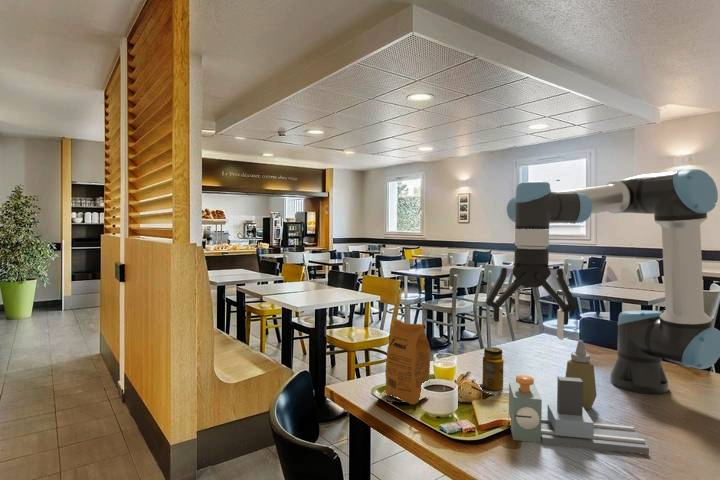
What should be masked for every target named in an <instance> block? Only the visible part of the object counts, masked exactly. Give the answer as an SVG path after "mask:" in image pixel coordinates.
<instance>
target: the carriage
mask: <svg viewBox="0 0 720 480" xmlns="http://www.w3.org/2000/svg"><path fill="white" fill-rule="evenodd" d="M556 385H557V388H556V389H557V391H556V392H557V393H556V396H557V398H556V403H547V411H546V412H547V414H546V415H547V416H546V418H548V419H549V420H550V422H551V424H552V427H553V429H554V431H555V435H559V436H569V437H579V438H589V439H594V422H595V421H593V420H592V418H591V416H590V415H589V414H588V412H587V411H586V410H585V409H584V408H583V381H582V380H581V379H580V378H569V377H565V376H557V384H556Z"/></svg>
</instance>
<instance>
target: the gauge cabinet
mask: <svg viewBox="0 0 720 480" xmlns="http://www.w3.org/2000/svg"><path fill="white" fill-rule="evenodd" d="M508 388H509V389H508V415H509V414H510V418H511V428H510V430H511V431H510V432H511V435H512V439H513V441H521V442H530V443H532V442H533V443H538V444H539V443H541V444H542V442H541V417H542V415H543V414H542V413H543V412H542V403H543V400H542V397H541V395H540V393H539V391H538V388H537V387H536V384H535V383H534V384H533V385H530V393H527V392H520V384H519V383H517V382H516V381H515V382H513V381H509V383H508Z"/></svg>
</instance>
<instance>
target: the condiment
mask: <svg viewBox="0 0 720 480" xmlns="http://www.w3.org/2000/svg"><path fill="white" fill-rule="evenodd" d="M483 350H484V351H483V352H484V353H483V357H482V383H481V384H478V385H480V387H481V388H482V390H483V391H484V392H483V393H485V392H488V393H491V394H492V395H494V394H498V393H502V392H505V391H509V387H505V386H504V358H503V350H502V349H501V348H499V347H494V346H488V347H485V348H484V349H483Z"/></svg>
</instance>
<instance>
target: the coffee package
mask: <svg viewBox="0 0 720 480" xmlns="http://www.w3.org/2000/svg"><path fill="white" fill-rule="evenodd" d="M392 325H393V326H392V328H391V332H390V337H389V340H388V345H387V349H386V351H387V352H386V361H385V395H386V394H387V395H393V396H395V397H398V398H400V399H403V400H405V401H406V402H407V403H409V405H411V406H413V405H416V404H418V403H420V402H419V398H420V392H421V385H422V383H424V382H425V381H428V380H429V381H430V374H431V371H430V370H431V369H430V368H431V347H430V343H429V341H428V338H427V334H426V332H425V330H426V328H427V327H426V325H425V324H424V323H405V322H404V321H402V320H400V319H398V318H394V321H393V324H392ZM407 403H406V404H407Z"/></svg>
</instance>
